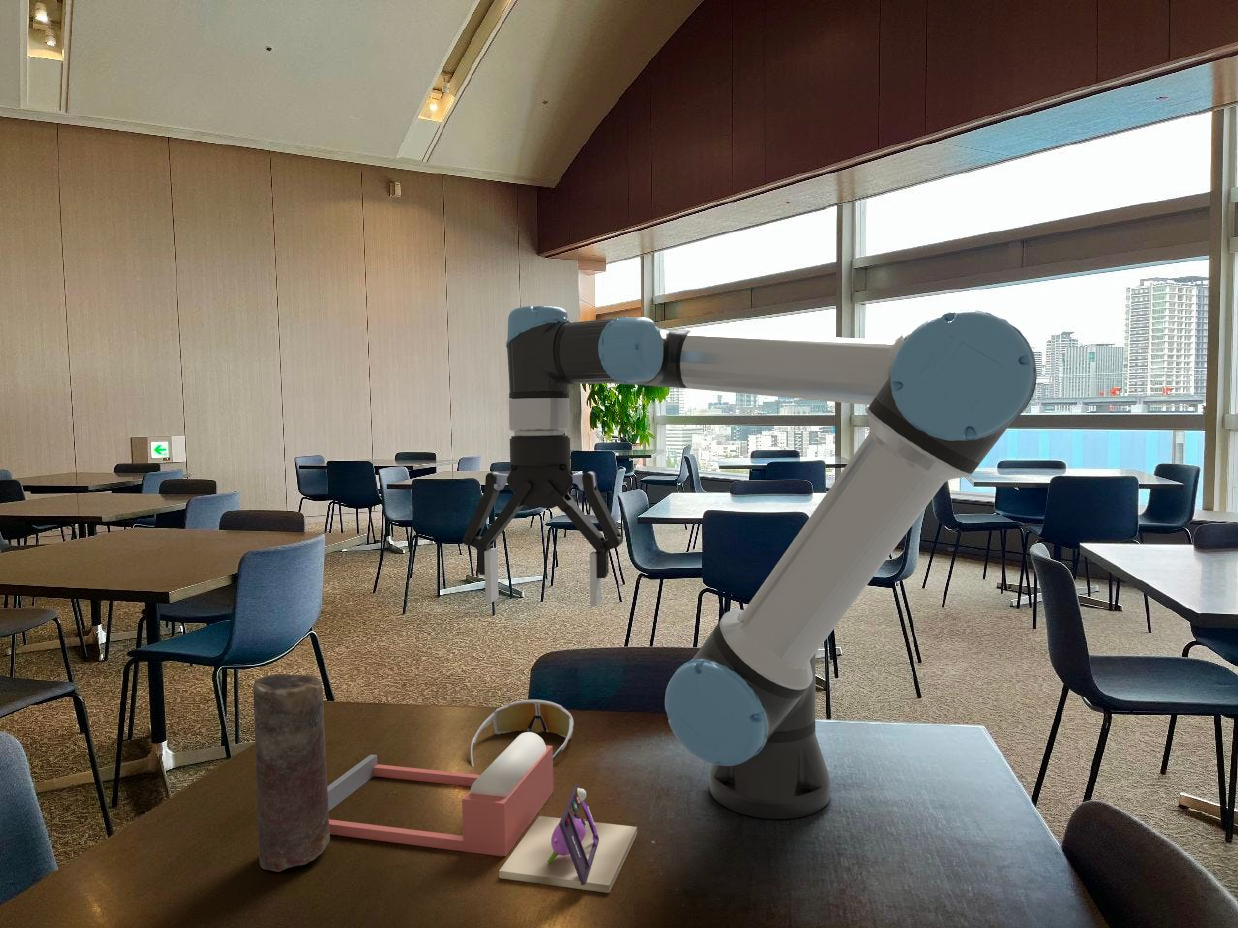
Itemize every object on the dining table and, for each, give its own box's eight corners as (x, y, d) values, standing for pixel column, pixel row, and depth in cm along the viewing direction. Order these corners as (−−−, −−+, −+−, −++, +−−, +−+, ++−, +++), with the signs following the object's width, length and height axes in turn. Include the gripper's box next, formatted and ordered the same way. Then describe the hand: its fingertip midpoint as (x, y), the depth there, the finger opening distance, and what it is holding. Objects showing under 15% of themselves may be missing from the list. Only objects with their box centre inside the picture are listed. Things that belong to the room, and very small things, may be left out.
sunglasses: (584, 731, 125) (582, 701, 124) (555, 789, 111) (553, 755, 110) (497, 725, 128) (495, 696, 127) (459, 780, 114) (455, 748, 113)
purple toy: (568, 821, 82) (584, 781, 91) (521, 835, 83) (542, 794, 91) (592, 883, 82) (605, 837, 91) (544, 897, 83) (562, 850, 91)
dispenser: (553, 791, 105) (552, 729, 104) (505, 856, 89) (503, 783, 89) (371, 772, 111) (369, 713, 111) (297, 829, 96) (294, 762, 96)
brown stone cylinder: (278, 837, 94) (271, 668, 93) (341, 837, 94) (334, 668, 93) (246, 875, 87) (237, 691, 85) (314, 874, 86) (306, 690, 85)
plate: (637, 833, 94) (637, 826, 94) (609, 892, 82) (609, 885, 82) (539, 822, 97) (539, 815, 97) (499, 877, 85) (499, 870, 85)
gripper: (643, 431, 102) (646, 598, 103) (457, 433, 107) (462, 592, 108) (632, 433, 95) (635, 612, 96) (433, 435, 100) (438, 605, 101)
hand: (543, 602), depth 102 cm, fingers open, 13 cm apart
